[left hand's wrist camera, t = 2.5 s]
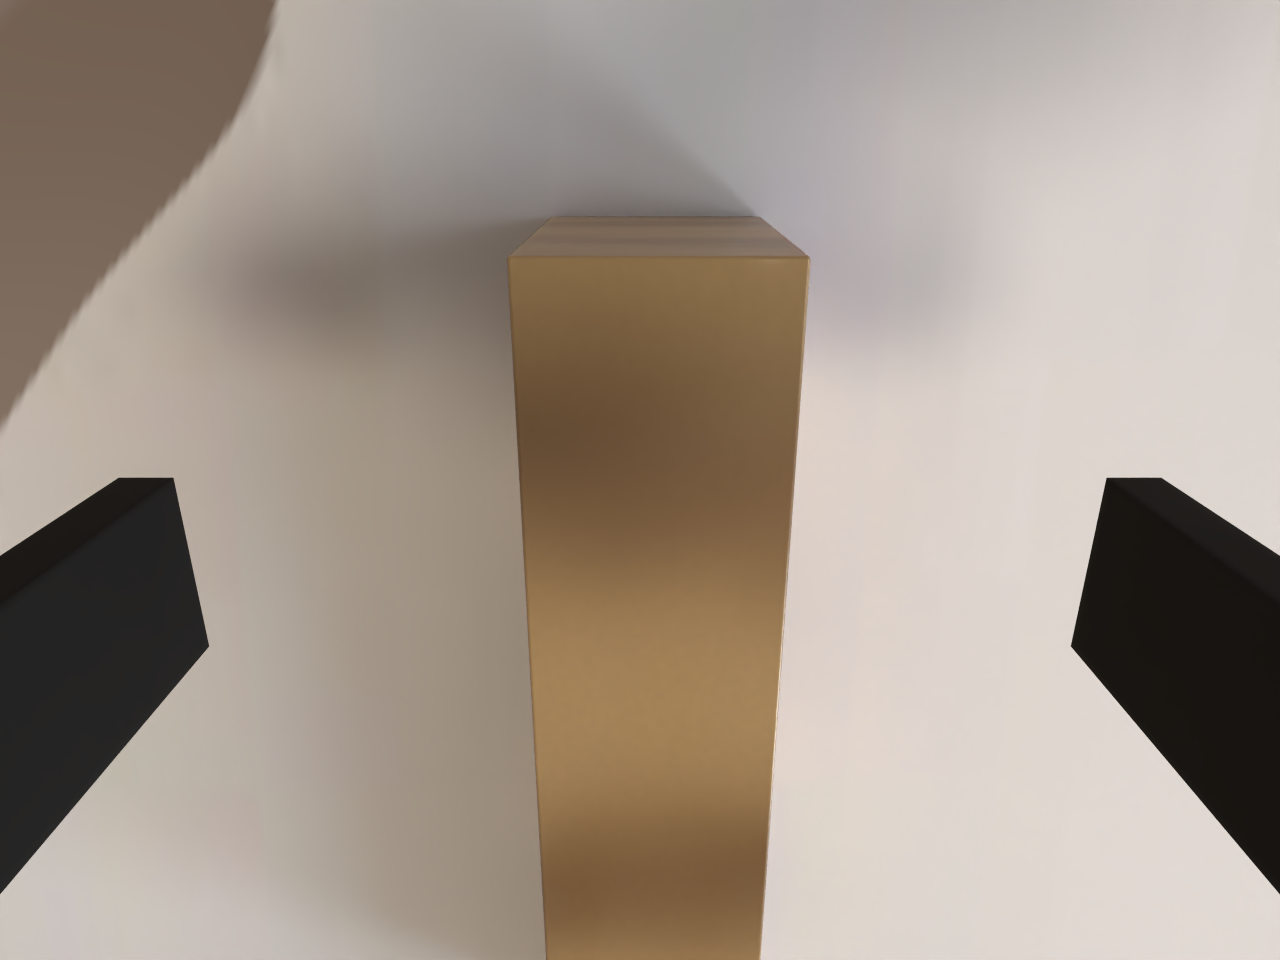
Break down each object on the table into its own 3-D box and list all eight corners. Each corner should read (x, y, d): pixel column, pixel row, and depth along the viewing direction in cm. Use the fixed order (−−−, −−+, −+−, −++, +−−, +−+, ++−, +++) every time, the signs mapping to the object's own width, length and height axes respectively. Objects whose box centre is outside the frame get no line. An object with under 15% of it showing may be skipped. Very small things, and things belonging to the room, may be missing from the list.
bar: (550, 216, 23) (506, 256, 16) (761, 216, 23) (811, 256, 16) (579, 998, 35) (561, 1228, 27) (722, 999, 35) (741, 1231, 27)
